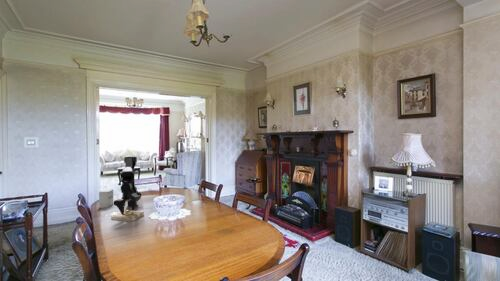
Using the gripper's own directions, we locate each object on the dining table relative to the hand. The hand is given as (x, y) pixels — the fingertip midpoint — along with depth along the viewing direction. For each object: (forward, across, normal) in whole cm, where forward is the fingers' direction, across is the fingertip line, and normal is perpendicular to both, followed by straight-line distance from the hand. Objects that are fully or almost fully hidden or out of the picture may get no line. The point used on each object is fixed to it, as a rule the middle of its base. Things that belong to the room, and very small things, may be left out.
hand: (128, 212), depth 166 cm
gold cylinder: (+4, 0, 0) cm, 4 cm away
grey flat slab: (+4, +2, +14) cm, 15 cm away
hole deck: (+4, 0, 0) cm, 4 cm away
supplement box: (+4, +19, +37) cm, 42 cm away
